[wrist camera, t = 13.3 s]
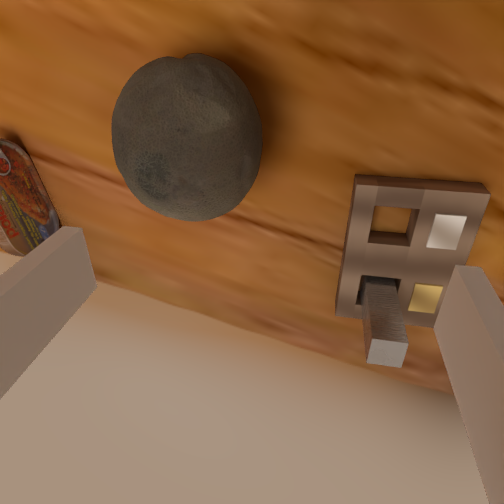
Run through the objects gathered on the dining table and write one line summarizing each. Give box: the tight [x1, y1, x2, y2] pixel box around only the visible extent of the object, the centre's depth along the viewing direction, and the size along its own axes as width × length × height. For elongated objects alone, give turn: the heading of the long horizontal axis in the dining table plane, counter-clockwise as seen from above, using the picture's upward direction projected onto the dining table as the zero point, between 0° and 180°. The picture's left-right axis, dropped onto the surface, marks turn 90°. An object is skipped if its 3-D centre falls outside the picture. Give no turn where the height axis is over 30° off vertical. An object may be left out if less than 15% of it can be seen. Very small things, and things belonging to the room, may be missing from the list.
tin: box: [0, 139, 59, 256], centre depth 47 cm, size 15×3×8 cm, turn 10°
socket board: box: [335, 174, 491, 328], centre depth 45 cm, size 18×13×3 cm
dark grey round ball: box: [112, 53, 263, 221], centre depth 36 cm, size 14×14×15 cm
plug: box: [359, 275, 409, 368], centre depth 43 cm, size 3×3×13 cm
